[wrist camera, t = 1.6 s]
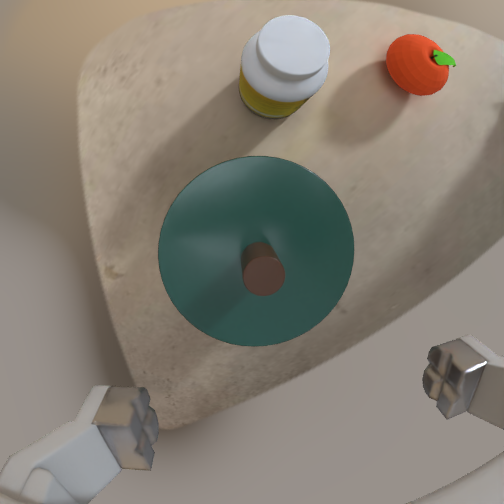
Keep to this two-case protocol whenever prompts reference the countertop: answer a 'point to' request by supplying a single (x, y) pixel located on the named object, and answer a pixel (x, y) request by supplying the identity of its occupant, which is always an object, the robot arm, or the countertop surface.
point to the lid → (256, 251)
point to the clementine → (418, 64)
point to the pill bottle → (283, 66)
